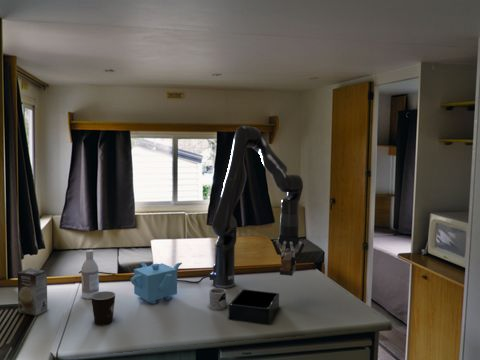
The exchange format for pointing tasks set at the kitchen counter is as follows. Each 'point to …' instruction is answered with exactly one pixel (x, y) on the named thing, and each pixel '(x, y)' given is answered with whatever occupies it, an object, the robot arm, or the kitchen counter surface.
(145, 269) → the teakettle
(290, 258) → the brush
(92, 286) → the bath foam
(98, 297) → the coffee mug
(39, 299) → the coffee box
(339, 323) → the kitchen counter surface
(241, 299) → the black open box
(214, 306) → the mug
